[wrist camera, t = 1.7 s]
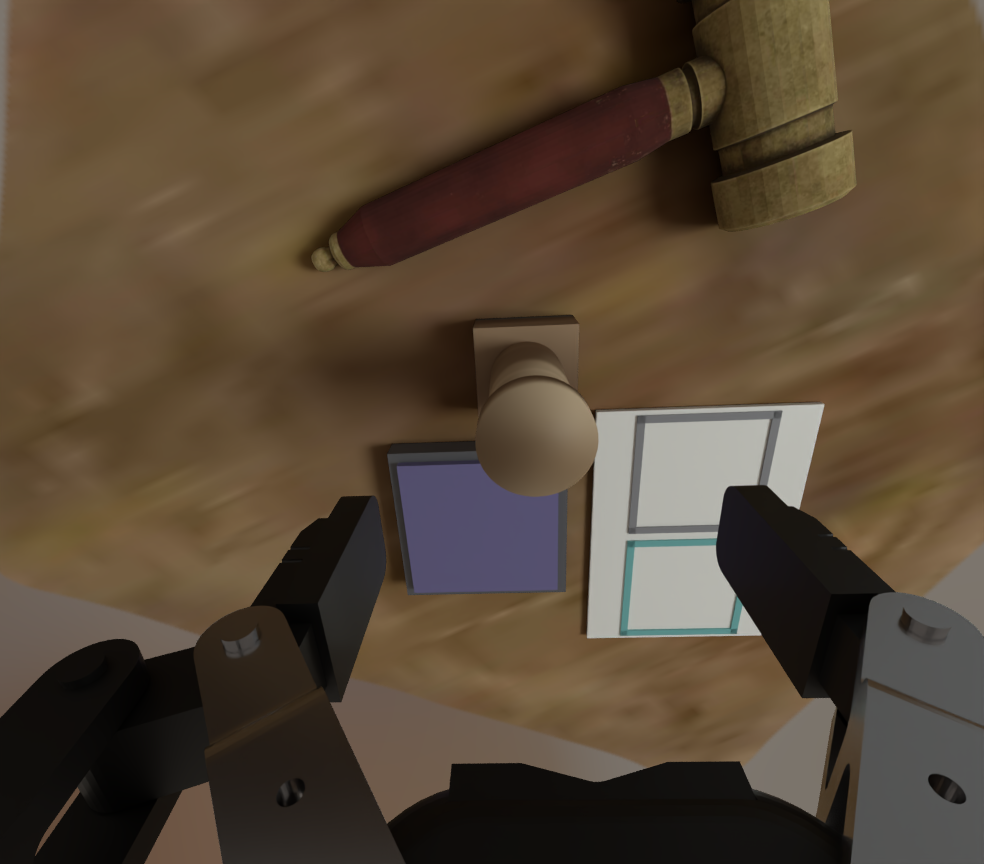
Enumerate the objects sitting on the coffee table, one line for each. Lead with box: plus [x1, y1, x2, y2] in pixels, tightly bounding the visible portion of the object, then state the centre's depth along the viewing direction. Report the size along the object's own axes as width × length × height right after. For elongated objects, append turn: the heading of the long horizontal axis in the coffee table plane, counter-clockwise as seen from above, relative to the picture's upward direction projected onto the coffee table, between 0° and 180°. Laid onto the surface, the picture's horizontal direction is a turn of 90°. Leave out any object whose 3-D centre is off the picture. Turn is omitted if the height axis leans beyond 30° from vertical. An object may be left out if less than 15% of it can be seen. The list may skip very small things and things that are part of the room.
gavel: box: [311, 0, 856, 272], centre depth 19 cm, size 21×5×10 cm
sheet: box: [586, 402, 824, 638], centre depth 27 cm, size 15×11×1 cm
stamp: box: [473, 315, 599, 497], centre depth 19 cm, size 4×4×9 cm
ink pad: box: [387, 441, 567, 595], centre depth 26 cm, size 9×9×2 cm
